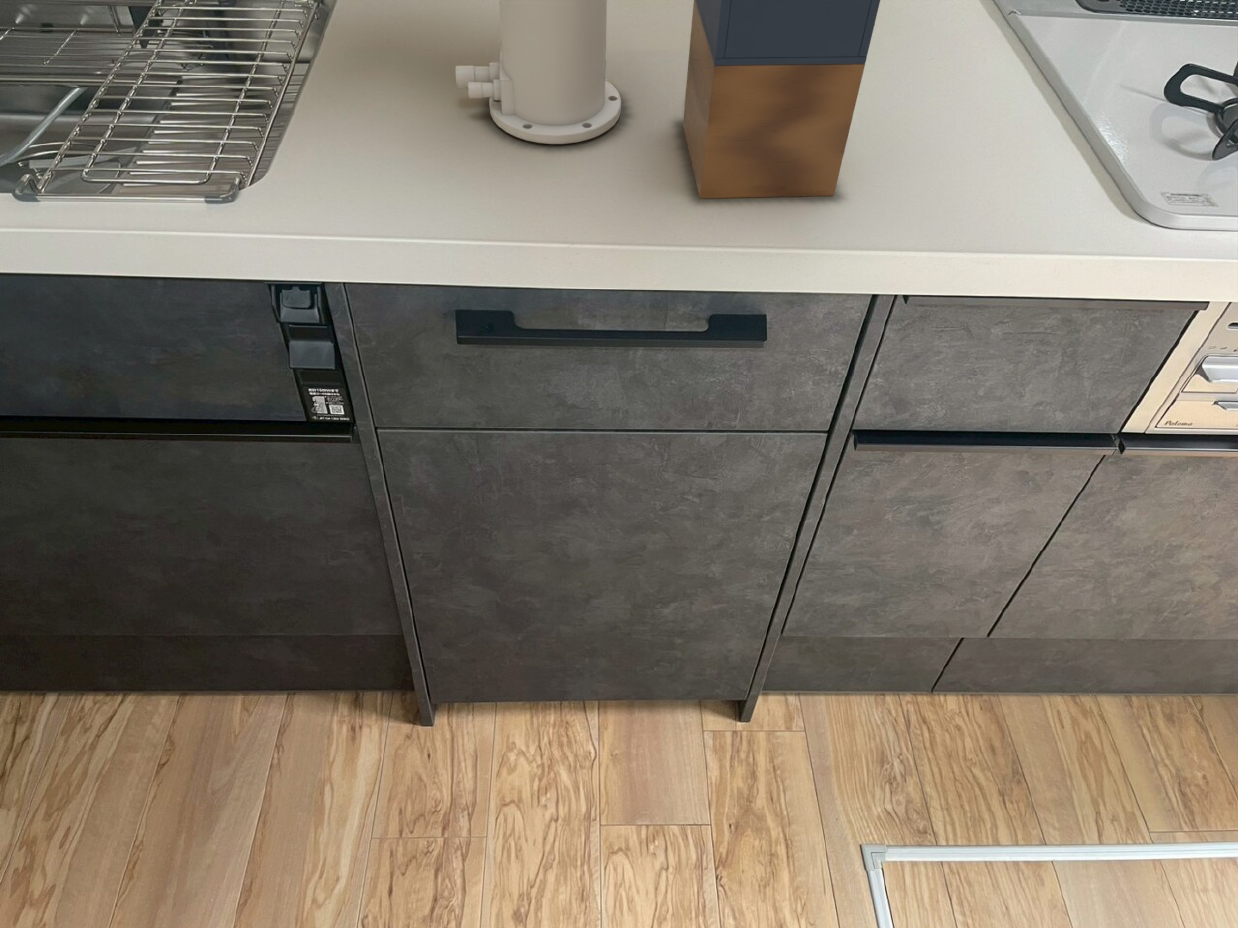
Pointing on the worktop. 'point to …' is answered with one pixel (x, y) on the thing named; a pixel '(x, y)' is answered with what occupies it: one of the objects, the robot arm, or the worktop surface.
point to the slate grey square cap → (788, 31)
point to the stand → (766, 124)
